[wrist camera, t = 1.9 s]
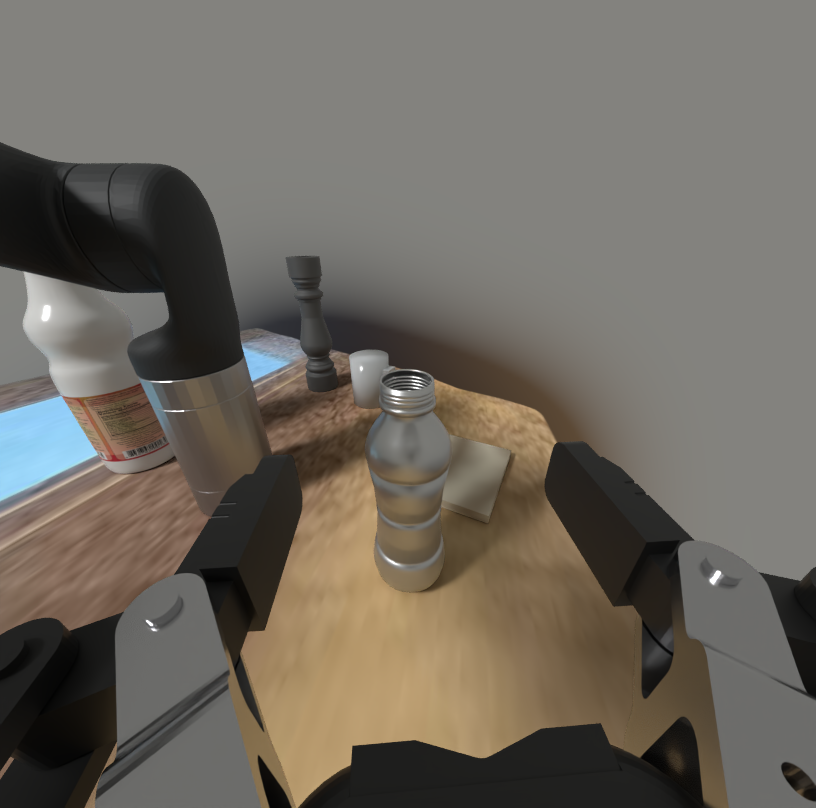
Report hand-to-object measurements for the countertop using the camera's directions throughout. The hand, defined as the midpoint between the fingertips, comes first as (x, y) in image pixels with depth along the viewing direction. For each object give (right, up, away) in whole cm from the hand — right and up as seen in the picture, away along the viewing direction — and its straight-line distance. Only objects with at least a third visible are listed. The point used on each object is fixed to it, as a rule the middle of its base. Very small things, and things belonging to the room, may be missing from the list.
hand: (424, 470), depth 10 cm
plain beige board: (+5, -7, +33) cm, 34 cm away
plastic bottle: (0, -14, +21) cm, 25 cm away
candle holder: (-19, +6, +57) cm, 60 cm away
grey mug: (-7, +3, +51) cm, 52 cm away
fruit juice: (-39, -6, +37) cm, 54 cm away
